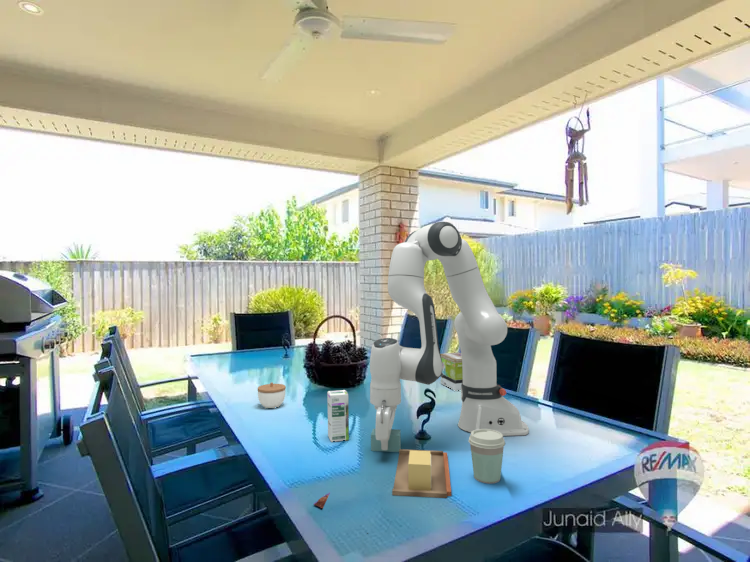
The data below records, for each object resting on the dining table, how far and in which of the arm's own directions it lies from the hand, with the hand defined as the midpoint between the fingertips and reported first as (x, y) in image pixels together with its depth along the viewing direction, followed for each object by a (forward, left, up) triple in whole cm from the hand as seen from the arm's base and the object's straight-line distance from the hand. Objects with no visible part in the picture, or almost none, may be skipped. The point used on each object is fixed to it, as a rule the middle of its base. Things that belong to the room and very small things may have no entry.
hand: (385, 444), depth 124 cm
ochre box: (-10, +21, -1) cm, 23 cm away
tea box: (-25, -79, -3) cm, 83 cm away
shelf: (-10, +15, -2) cm, 18 cm away
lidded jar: (+49, -41, -3) cm, 64 cm away
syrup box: (+16, -10, -2) cm, 19 cm away
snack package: (+8, +27, -3) cm, 28 cm away
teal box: (0, 0, -2) cm, 2 cm away
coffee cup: (-26, +16, -2) cm, 31 cm away
